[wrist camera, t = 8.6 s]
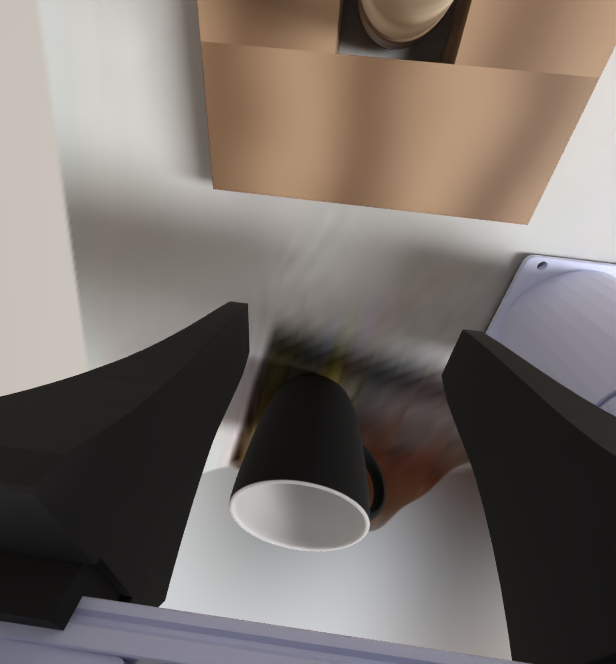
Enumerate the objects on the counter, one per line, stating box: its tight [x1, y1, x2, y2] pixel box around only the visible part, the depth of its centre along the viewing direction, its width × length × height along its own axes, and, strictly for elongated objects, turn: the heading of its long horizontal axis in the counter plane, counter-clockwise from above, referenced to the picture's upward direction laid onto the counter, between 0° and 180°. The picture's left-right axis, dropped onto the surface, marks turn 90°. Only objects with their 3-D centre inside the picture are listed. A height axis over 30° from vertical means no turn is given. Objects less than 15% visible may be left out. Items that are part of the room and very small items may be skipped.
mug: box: [229, 376, 386, 551], centre depth 23 cm, size 12×9×10 cm
